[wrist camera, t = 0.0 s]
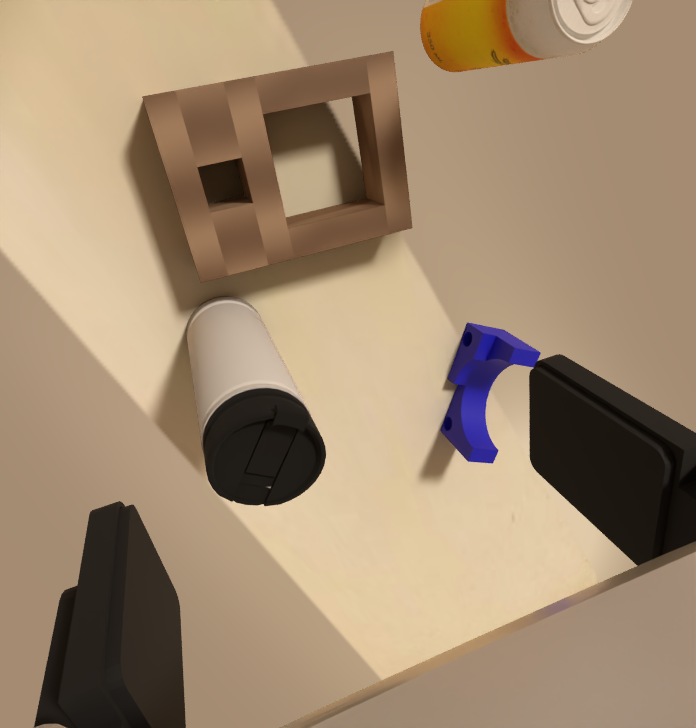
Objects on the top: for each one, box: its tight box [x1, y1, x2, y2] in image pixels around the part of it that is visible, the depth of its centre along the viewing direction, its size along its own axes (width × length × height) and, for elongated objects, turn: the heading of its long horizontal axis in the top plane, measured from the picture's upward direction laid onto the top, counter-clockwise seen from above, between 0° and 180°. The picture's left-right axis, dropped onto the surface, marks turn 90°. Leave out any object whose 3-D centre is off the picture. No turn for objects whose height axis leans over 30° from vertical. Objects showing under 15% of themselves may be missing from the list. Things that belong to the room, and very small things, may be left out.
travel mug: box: [187, 297, 326, 506], centre depth 35 cm, size 6×7×20 cm
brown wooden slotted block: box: [142, 51, 412, 283], centre depth 38 cm, size 12×17×4 cm
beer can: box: [420, 0, 632, 72], centre depth 33 cm, size 6×6×15 cm
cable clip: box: [440, 323, 540, 463], centre depth 52 cm, size 12×4×6 cm, turn 163°
